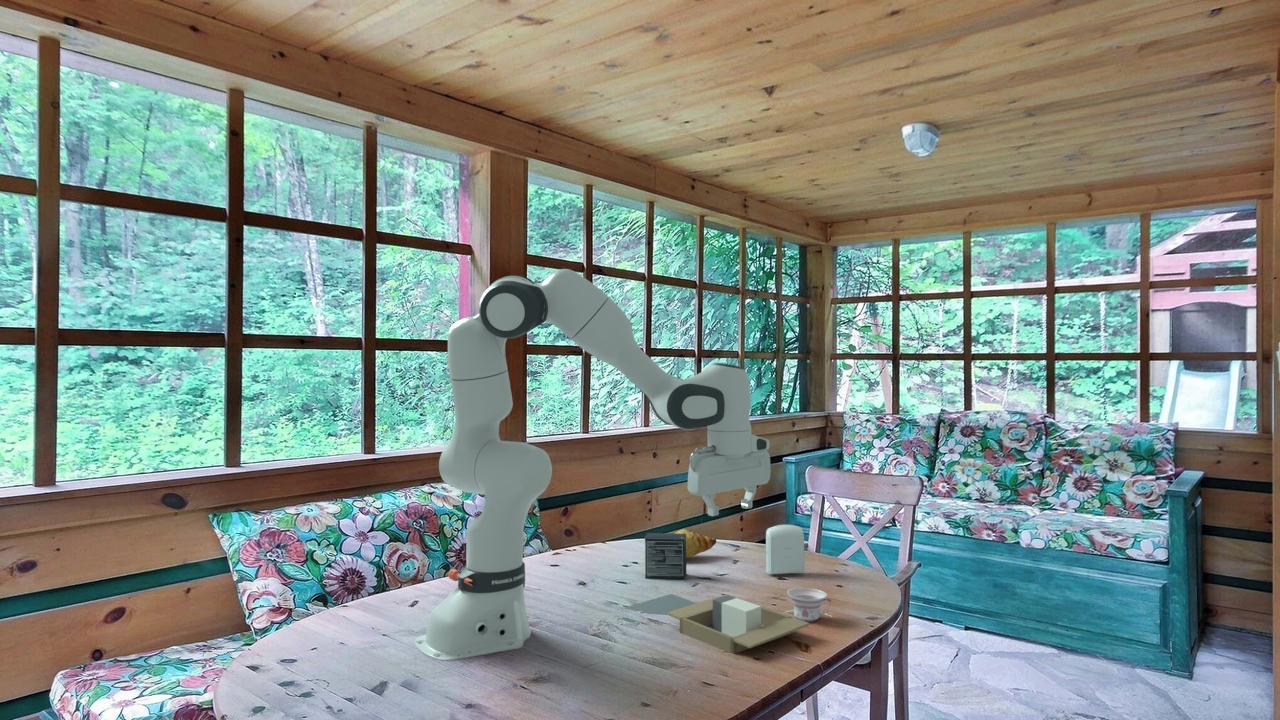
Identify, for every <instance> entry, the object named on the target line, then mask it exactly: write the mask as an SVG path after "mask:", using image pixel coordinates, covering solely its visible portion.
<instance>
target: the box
mask: <svg viewBox="0 0 1280 720" xmlns="http://www.w3.org/2000/svg"><path fill="white" fill-rule="evenodd" d="M761 607H762V606H761V605H759V604H755V603H752V602H749V601H747V600H743V599H741V598H737V597H734V596H732V595H728V594H726V596H723V597H720V598H717V599H713V625H712V629H714V630H717V631H719V632H722V633H724V634H727V635H729V636H732V637H735V636H738V635H741V634H743V633H746V632H749V631H752V630H754V629H757V628H760V627H762V624H761Z"/></svg>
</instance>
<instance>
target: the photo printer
mask: <svg viewBox="0 0 1280 720" xmlns="http://www.w3.org/2000/svg"><path fill="white" fill-rule="evenodd" d="M765 560H766V561H765V564H766V566H765V567H766V569H765V570H766V573H767V574H769V575H774V574H775V575H777V574H778V575H779V574H791V573H792V574H793V573H794V574H795V573H804V572H805V534H804V530H803V527H801V526H798V525H795V524H778V525H774V526H772V527H768V528H767V529H766V530H765Z"/></svg>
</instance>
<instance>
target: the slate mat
mask: <svg viewBox="0 0 1280 720" xmlns="http://www.w3.org/2000/svg"><path fill="white" fill-rule="evenodd" d="M696 603H697V602H695V601H693V600H690V599H688V598H684V597H681V596H679V595H676V594H673V593H670V594H666V595H663V596H659V597H657V598H656V597H655V598H652V599H649V600H646V601H642V602H638V603H635V604H631V605H628V606H625V607H626V608H625V609H628V610H630V609H631V611H633V610H634V611H633V612H636V611H642V612H640V613H639V614H643V613H647V614H646V615H661V616H667V615H666V613H667V612H670V611H673V610H677V609H680V608H683V607H686V606H690V605H693V604H696Z"/></svg>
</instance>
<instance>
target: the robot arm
mask: <svg viewBox="0 0 1280 720" xmlns="http://www.w3.org/2000/svg"><path fill="white" fill-rule="evenodd" d="M544 323H548V324H551V325H553V326H555V327H556V328H558V329H559V330H560V331H561V332H562V333H563V334H564V335H566V336H567V337H568V338H569V339H570V340H571V341H572V342H573V343H574V344H575V345H577V346H578V347H579V348H580V349H582V350H584V351H585V352H586V353H587V354H589V355H590V356H592V357H594V358H596V359H598V360H600V361H602V362H604V363H605V364H609V365H610V366H611V367H613V368H615V369H617V370H618V371H619V372H620V373H621V374H622V375H623V376H625V377H626V379H628V380H629V381H630V382H631V383H632V384H633V385H635V386H636V387H637V388H638V389H639V390H640V391H641V392H642V393H643V394H644V395H645V396H646V398H647V400H648V402H649V405H650V407H651V409H652V411H653V413H654V415H655V416H656V417H657V418H658V419H659V420H660V422H662V423H664V424H666V425H669V426H674V427H676V428H678V429H682V430H686V431H691V430H696V429H700V428H706V427H707V429H706V430H707V433H706V434H707V436H706V438H707V446H705V447H697V448H695V449H694V451H693V452H692V453H691V454H690V457H689V465H688V473H687V491H688V492H689V493H690V495H694V496H696V497H697V496H698V497H702V500H703V502H704V504H705V506H706V507H707V515H708V516H709V517H710V516H711V517H716V516H719V514H720V506H717V505H716V504H715V501H714V499H716V494H720V493H724V492H731V491H735V490H741V489H744V491H745V494H744V498H741V499H740V500H741V501H740V502H741V504H740V505H741V506H740V507H741V508H742V509H746V510H747V509H752V508H753V500H754V497H755V495H756V493H757V486H761V485H767V484H768V483H769V481H770V479H771V456H770V453H769V452H768V450H770V445H771V444H770V443H771V442H770V440H769V439H768V438H764V437H761V436H758V435H754V434H752V425H751V421H750V413H751V410H752V396H751V386H750V385H751V384H750V378H749V375H748V372H747V371H746V369H745V368H743V367H742V366H738V365H733V364H728V363H722V362H713V363H711V364H710V365H709V366H708V367H707V368H706V369H704V370H702V371H701V372H699V373H697V374H696V375H694V376H691V377H690V378H687V379H683V378H680V377H676V376H673V375H671V374H669V373H667V372H666V371H665V370H663V369H662V368H661V367H660V366H659V365H658V364H657V363H656V362H655V361H654V360H653V359H652V358H650V357H649V355H647V353H646V352H644V351H643V349H642V348H640V346H639V345H638V343H637V341H636V338H635V336H634V331H633V325H632V322H631V320H630V319H629V318H628V316H627V315H626V314H625V312H624V311H623V310H622V308H621V307H620V306H619V305H618V304H617V303H616V302H615V301H614V300H613V299H612V298H611V297H609V295H607V294H606V293H605V292H604V291H603V290H601V288H599V287H598V286H597V285H595V284H593V282H592V281H589V279H587V278H585V277H584V276H582V275H581V274H579V273H577V272H575V270H572V269H570V268H561V269H558V270H556V271H554V272H552V273H550V274H549V275H548V276H547V277H546V278H545V279H544V280H542V282H540V283H535V282H534V281H533V280H531V279H529V278H528V277H526V276H523V275H518V274H512V275H507V276H502V277H501V278H498V279H497V280H495V281H493V282H492V283H491V284H490V285H489V286H488V287H487V288H486V289H485V290H484V292H483V293H482V295H481V297H480V298H479V303H478V313H477V314H476V315H473V316H468V317H464V318H460V319H459V320H457V321H456V322H455V323H453V324H452V325H451V326H450V328H449V330H448V333H447V360H448V362H447V363H448V371H449V378H450V383H451V385H450V386H451V391H452V396H453V397H452V399H453V405H454V413H455V415H454V416H455V417H454V418H455V420H454V421H455V422H454V430H453V434H452V437H451V440H450V441H449V443H447V445H446V446H445V448H443V450H442V452H441V454H440V457H439V462H438V471H439V474H440V477H441V479H442V481H443V482H444V483H445V484H446V485H448V486H450V487H452V488H454V489H456V490H459V491H461V492H463V493H469V494H477V495H484V496H485V501H484V506H483V509H482V511H481V514H480V515H479V516H477V517H476V518H474V519H473V520H472V521H470V523H469V524H468V526H467V528H466V531H465V533H466V536H465V538H466V539H465V540H466V541H465V542H466V543H465V544H466V547H465V548H466V549H465V551H466V552H465V553H466V554H465V555H466V557H465V558H466V563H465V565H464V567H463V570H462V571H461V572H460V571H459V570H457V569H456V568H450V570H449V572H448V574H447V577H448V578H449V579H450V580H452V582H453V581H454V582H457V587H455V589H454V590H453V591H452V592H451V593H449V595H448V596H447V597H445V599H443V600H442V602H440V603H439V604H438V605H437V606H436V607H435V608H433V610H432V611H431V612H430V614H429V616H428V619H427V624H426V631H425V634H423V635H420V636H418V637H416V638H415V640H414V647H415V649H416V650H417V651H418V652H419V653H421V654H422V655H424V656H425V657H428V658H431V659H434V660H438V661H445V662H448V661H454V660H459V659H465V658H471V657H477V656H482V655H489V654H494V653H498V652H504V651H509V650H510V651H511V650H517V649H521V648H522V647H523V646H524V644H525V641H526V640H528V638H530V637H531V636H532V635H531V634H532V629H531V627H530V624H529V619H528V614H527V608H526V603H525V602H526V601H525V592H524V589H525V585H526V564H525V562H524V561H523V560H524V559H523V557H524V555H523V554H524V530H525V529H524V528H525V524H526V519H527V516H528V513H529V510H530V508H531V507H532V504H533V503H534V502H535V501H536V499H538V497H540V496H541V495H542V494H544V492H545V491H546V490H547V488H548V487H549V485H550V483H551V480H552V476H553V466H552V462H551V458H550V456H549V455H548V453H547V452H546V450H544V449H543V448H541V447H537V446H535V445H532V444H529V443H526V442H521V441H509V440H502V439H500V433H499V432H500V424H501V421H503V420H505V418H507V417H508V416H509V414H510V413H511V411H512V409H513V407H514V403H513V402H514V401H513V396H512V395H513V394H512V390H511V389H512V388H511V381H510V377H509V376H510V375H509V369H508V363H507V357H506V342H507V340H508V339H517V338H520V337H522V336H524V335H526V334H527V333H529V332H530V331H532V330H533V329H537V328H538V327H539V326H541V325H542V324H544Z"/></svg>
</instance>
